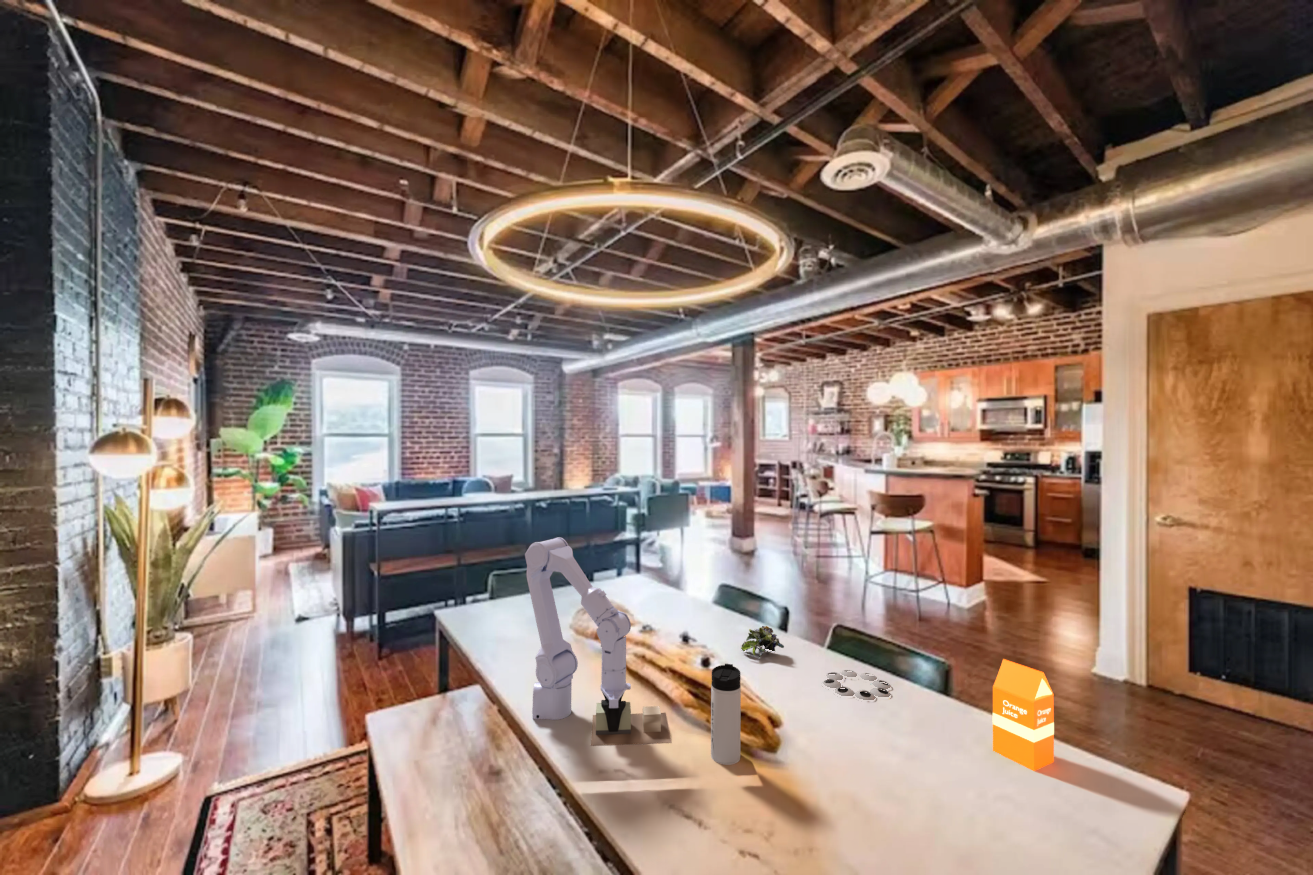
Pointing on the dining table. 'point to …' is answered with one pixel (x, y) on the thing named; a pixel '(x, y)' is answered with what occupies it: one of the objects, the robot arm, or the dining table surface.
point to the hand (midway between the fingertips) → (613, 724)
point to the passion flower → (761, 640)
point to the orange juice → (1023, 716)
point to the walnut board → (633, 733)
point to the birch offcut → (651, 719)
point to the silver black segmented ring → (857, 694)
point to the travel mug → (725, 714)
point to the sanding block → (602, 722)
